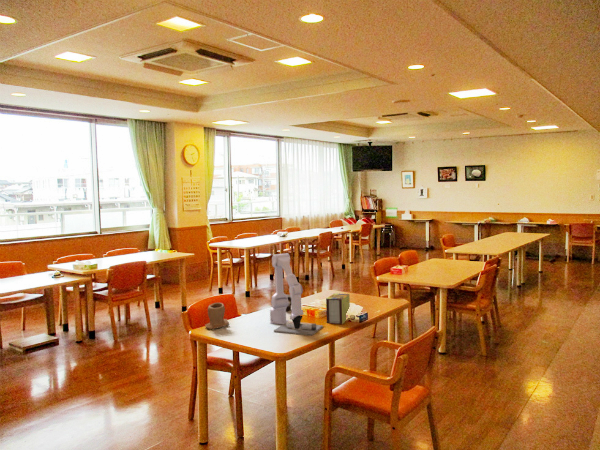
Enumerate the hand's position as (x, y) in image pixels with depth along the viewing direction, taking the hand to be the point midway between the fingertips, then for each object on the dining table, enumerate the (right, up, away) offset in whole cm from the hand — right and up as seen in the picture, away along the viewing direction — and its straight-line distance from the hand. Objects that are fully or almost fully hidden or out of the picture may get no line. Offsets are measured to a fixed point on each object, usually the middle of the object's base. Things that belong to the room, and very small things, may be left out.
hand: (297, 328), depth 292 cm
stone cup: (-48, -3, +15) cm, 50 cm away
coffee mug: (-6, +2, +52) cm, 53 cm away
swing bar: (+3, 0, +3) cm, 4 cm away
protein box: (+26, 0, +22) cm, 34 cm away
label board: (+1, -2, +5) cm, 5 cm away
